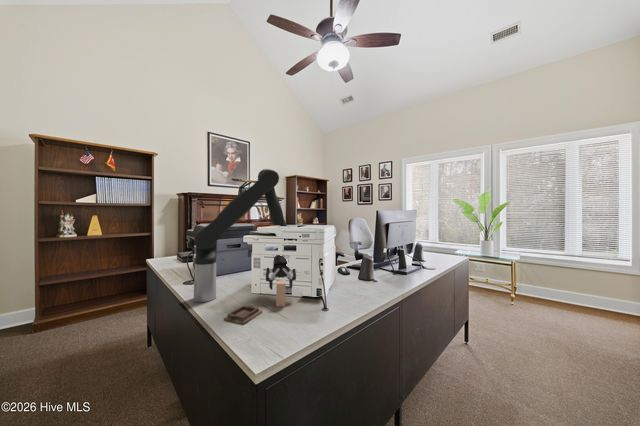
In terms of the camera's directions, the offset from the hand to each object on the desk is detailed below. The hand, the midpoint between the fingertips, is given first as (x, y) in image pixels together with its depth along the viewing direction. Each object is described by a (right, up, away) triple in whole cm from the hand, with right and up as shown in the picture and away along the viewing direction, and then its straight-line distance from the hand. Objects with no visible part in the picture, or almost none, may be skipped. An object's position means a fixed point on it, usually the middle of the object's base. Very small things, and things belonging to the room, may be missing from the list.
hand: (281, 288), depth 111 cm
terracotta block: (0, -7, -1) cm, 7 cm away
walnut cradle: (-13, -7, -15) cm, 20 cm away
